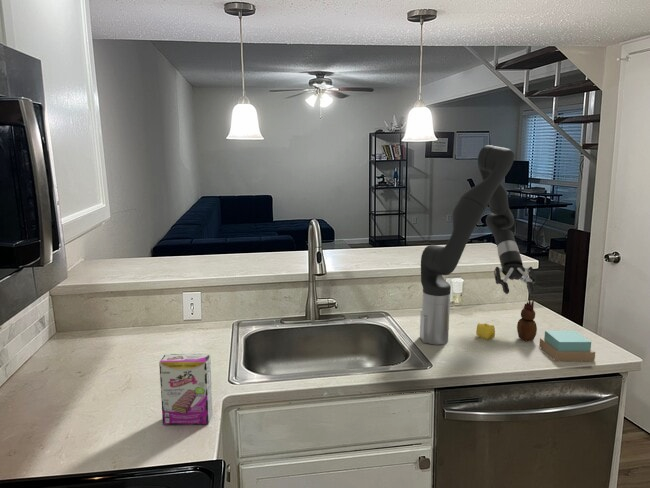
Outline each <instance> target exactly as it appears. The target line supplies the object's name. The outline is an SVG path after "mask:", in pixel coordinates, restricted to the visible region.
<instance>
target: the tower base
mask: <svg viewBox="0 0 650 488" xmlns="http://www.w3.org/2000/svg"><path fill="white" fill-rule="evenodd" d="M538 346H539V347H540V349H542V350H543V351H544V352H545V353H546V354H547V355H548V356H549V357H551V358H552V360H554V361H555V362H595V358H596V352H595V350H593V349H592V341H591V340H590V339H588V338H586V337H585V336H584V335H582V334H581V333H579V332H578V331H576V330H544V337H540V338H539V345H538Z"/></svg>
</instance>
